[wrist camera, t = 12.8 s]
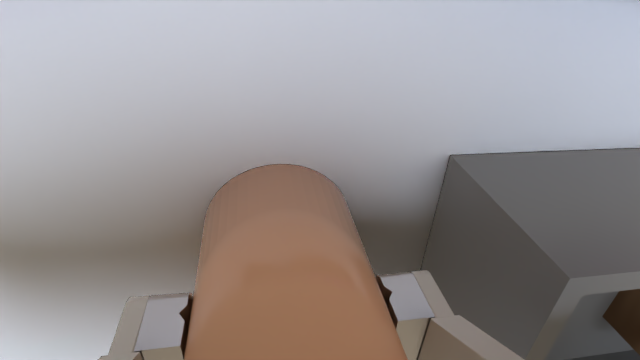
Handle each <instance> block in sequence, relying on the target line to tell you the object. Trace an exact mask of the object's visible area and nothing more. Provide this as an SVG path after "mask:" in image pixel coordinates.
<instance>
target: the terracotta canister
mask: <svg viewBox="0 0 640 360" xmlns="http://www.w3.org/2000/svg"><path fill="white" fill-rule="evenodd" d="M184 360H408V359H407V356H406V354H405V351H404V349H403V346H402V344H401V341H400V339H399V336H398V333H397V331H396V328H395V326H394V323H393V321H392V318H391V315H390V313H389V310H388V308H387V305H386V303H385V300H384V297H383V295H382V292H381V290H380V287H379V285H378V282H377V280H376V277H375V274H374V272H373V269H372V267H371V264H370V262H369V259H368V256H367V254H366V251H365V249H364V246H363V244H362V241H361V239H360V236H359V233H358V231H357V228H356V226H355V223H354V221H353V218H352V215H351V213H350V210H349V208H348V205H347V203H346V200H345V198H344V196H343V194H342V193H341V191H340V190H339V188H338V187H337V186H336V185H335V184H334V183H333V182H332V181H331V180H329V179H328V178H327V177H326V176H324V175H322V174H320V173H319V172H317V171H314V170H312V169H309V168H306V167H302V166H297V165H290V164H274V165H266V166H261V167H257V168H254V169H251V170H248V171H246V172H244V173H242V174H239V175H238V176H236V177H234V178H233V179H231V180H230V181H228V182H227V183H226V184H225V185H224V186H222V188H221V189H220V190H219V191H218V192H217V193H216V194H215V196H214V197H213V199H212V200H211V202H210V204H209V206H208V208H207V212H206V215H205V221H204V228H203V235H202V241H201V248H200V255H199V261H198V268H197V275H196V281H195V288H194V294H193V301H192V308H191V314H190V321H189V328H188V334H187V341H186V348H185V354H184Z"/></svg>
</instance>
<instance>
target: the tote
mask: <svg viewBox="0 0 640 360" xmlns="http://www.w3.org/2000/svg"><path fill="white" fill-rule="evenodd" d="M423 270H427V271H429V272H430V273H431V275H432V277H433V279H434V280H435V282H436V284H437V286H438V287H439V289H440V291H441V293H442V294H443V296H444V298H445V300H446V301H447V303H448V305H449V307H450V308H451V310H452V312H453V314H454V315H460V316H462V317H463V318H465V319H466V320H467V321H469V322H470V323H472V324H473V325H475V326H476V327H478V328H479V329H481V330H482V331H484V332H485V333H486V334H488V335H489V336H491V337H492V338H494V339H495V340H497V341H498V342H500V343H501V344H502V345H504V346H505V347H507V348H508V349H510V350H511V351H513V352H514V353H516V354H517V355H519V356H520V357H521V358H523V359H524V360H640V355H639V354H638V353H637V352H636V351H635V350H634V349H633V348H632V347H631V346H630V345H629V344H628V343H627V342H626V341H625V340H624V339H623V338H622V337H621V335H620V334H619V333H618V332H617V331H616V330H615V329H614V328H613V327H612V326H611V325H610V324H609V323H608V322H607V321H606V320H605V319H604V318H603V317H602V316H603V315H604V313H605V312H606V310H607V309H608V307H609V306H610V304H611V303H612V301H613V300H614V298H615V297H616V295H617V294H618V292H619V291H625V290H633V289H640V148H631V149H604V150H578V151H551V152H525V153H498V154H471V155H450V159H449V163H448V167H447V170H446V174H445V178H444V182H443V186H442V190H441V193H440V197H439V201H438V205H437V209H436V213H435V216H434V220H433V224H432V228H431V232H430V236H429V239H428V243H427V247H426V251H425V255H424V259H423V262H422V266H421V270H420V271H423Z"/></svg>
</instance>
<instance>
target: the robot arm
mask: <svg viewBox="0 0 640 360" xmlns="http://www.w3.org/2000/svg"><path fill="white" fill-rule="evenodd" d="M376 280H377V282H378V285H379V287H380V290H381V292H382V295H383V297H384V300H385V303H386V305H387V308H388V310H389V313H390V315H391V318H392V321H393V323H394V326H395V328H396V331H397V333H398V336H399V339H400V341H401V344H402V346H403V349H404V351H405V354H406V356H407V359H408V360H524V359H523V358H521V357H520V356H519V355H517V354H516V353H514V352H513V351H511V350H510V349H508V348H507V347H505V346H504V345H502V344H501V343H500V342H498V341H497V340H495V339H494V338H492V337H491V336H489V335H488V334H486V333H485V332H484V331H482V330H481V329H479V328H478V327H476V326H475V325H473V324H472V323H470V322H469V321H467V320H466V319H465V318H463V317H462V316H460V315H454V314H453V312H452V310H451V308H450V307H449V305H448V303H447V301H446V300H445V298H444V296H443V294H442V293H441V291H440V289H439V287H438V286H437V284H436V282H435V280H434V279H433V277H432V275H431V273H430V272H429V271H427V270H423V271H413V272H401V273H392V274H382V275H377V276H376ZM192 301H193V296H192V293H178V294H163V295H151V296H138V297H130V298H129V299H128V301H127V302H126V304H125V307H124V310H123V313H122V316H121V318H120V321H119V324H118V327H117V330H116V333H115V336H114V339H113V342H112V345H111V348H110V351H109V354H108V355H106V356H101V357H100V358H99V359H98V360H184V354H185V348H186V341H187V334H188V328H189V321H190V314H191V308H192Z"/></svg>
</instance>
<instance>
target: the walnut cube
mask: <svg viewBox="0 0 640 360" xmlns="http://www.w3.org/2000/svg"><path fill="white" fill-rule="evenodd" d="M602 317H603V318H604V319H605V320H606V321H607V322H608V323H609V324H610V325H611V326H612V327H613V328H614V329H615V330H616V331H617V332H618V333H619V334H620V335H621V337H622V338H623V339H624V340H625V341H626V342H627V343H628V344H629V345H630V346H631V347H632V348H633V349H634V350H635V351H636V352H637V353H638V354H639V355H640V289H633V290H625V291H619V292H618V294H617V295H616V297H615V298H614V300H613V301H612V303H611V304H610V306H609V307H608V309H607V310H606V312H605V313H604V315H603V316H602Z"/></svg>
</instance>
